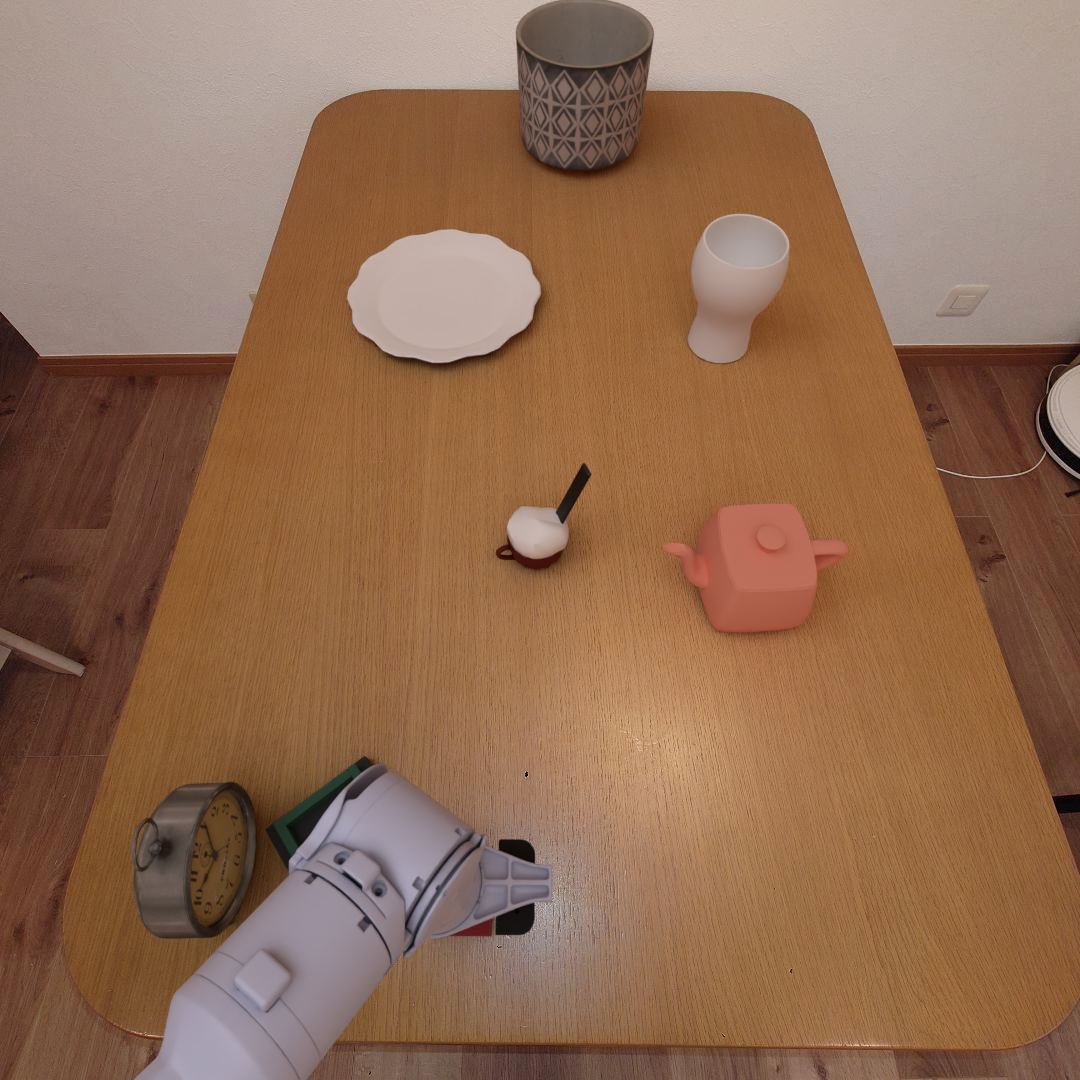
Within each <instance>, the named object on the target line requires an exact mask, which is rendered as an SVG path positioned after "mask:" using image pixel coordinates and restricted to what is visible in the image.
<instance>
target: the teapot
mask: <svg viewBox="0 0 1080 1080" xmlns="http://www.w3.org/2000/svg"><path fill="white" fill-rule="evenodd" d="M696 539H697V540H696V542H695V551H694V550H693V548H692V547H691V546H689V545H688V544H686V543H682V542H669V543H665V544H664V545H663V546H662V549H663V551H664V552H665V553H667V554H669V555H673V556H676V557H678V558H679V559H680V564H681V565H680V566H681V571H682V573H683V575H684V578H685V579H686V581H688V582H689V584H691V585H693V586H695V587H697V588H698V590H699V593H700V597H701V600H702V603H703V607H704V610H705V612H706V616H707V618H708V620H709V622H710V624H711V626H712V627H713V628H714V629H715V630H716V631H717V632H720V633H760V632H773V631H783V630H788V629H789V630H790V629H793V628H796V627H799V626H801V625H803V624H804V623H805V622H806V620H807V619H808V616H809V615H810V613H811V611H812V608H813V606H814V603H815V599H816V594H817V589H818V579H819V578H818V572H819V571H822V570H825V569H827V568H829V567H831V566H834V565H836V564H838V563H839V562H841V561H842V560H843V559H845V558H846V557H847V556H848V555H849V553H850V548H849V547H850V546H849V544H848V543H846V542H845V541H843V540H840V539H827V538H826V539H811V538H810V536H809V532H808V530H807V527H806V524H805V522H804V519H803V517H802V515H801V513H800V511H799V509H798V508H797V506H795V505H794V504H793V503H784V502H783V503H781V502H779V503H777V502H776V503H775V502H774V503H751V504H750V503H749V504H737V505H728V506H727V505H725V506H722V507H720V508H719V509H717V510H716V512H714V514H712V516H710V517H709V519H708V520H707V521H706V522H705V524H703V526H702V528H701V530H700V531H699V533H698V535H697V538H696Z"/></svg>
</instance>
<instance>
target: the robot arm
mask: <svg viewBox="0 0 1080 1080" xmlns="http://www.w3.org/2000/svg"><path fill="white" fill-rule="evenodd" d="M487 842H488V834H487V833H484V834H479V833H478V832H476V829H475V828H474V827H472V825H470V824H469V823H467V822H466V821H465V820H463V819H462V818H461V817H459V816H458V815H456V814H455V813H453V812H452V811H451V810H450V809H448V808H447V807H446V806H444V805H443V804H442V803H441V802H439V801H438V800H436V799H435V798H433V796H431V795H430V794H428V793H427V792H426V791H424V790H423V789H422V788H420V787H419V786H418V785H416V784H415V783H414V782H412V781H411V780H410V779H408V778H407V777H406V776H404V775H403V774H402V773H400V772H399V771H398V770H391V771H389V769H388V766H387V764H386V763H383V762H380V763H375V764H373V765H372V766H371V767H369V768H368V769H366V770H365V771H364V772H362V773H361V774H360V775H359V776H357V777H356V778H355V779H354V780H353V781H352V782H351V783H350V784H349V785H348V786H346V787H345V788H344V789H343V790H342V792H341V793H340V794H339V795H338V796H337V797H336V799H335V800H334V801H333V802H332V804H331V805H330V806H329V807H328V809H327V810H326V811H325V813H324V814H323V816H322V817H321V819H320V820H319V822H318V823H317V825H316V826H315V828H314V829H313V831H312V832H311V834H310V835H309V837H308V838H307V839H306V840H305V842H304V843H303V844H302V845H301V846H300V847H299V848H298V849H297V850H296V853H295V854H294V855H293V856H292V858H291V859H290V860H289V871H288V875H287V876H286V877H285V878H284V879H283V881H281V883H280V884H279V885H277V887H276V888H275V889H274V890H273V891H272V892H271V893H270V894H269V895H268V896H267V897H266V898H265V899H264V900H263V901H262V902H261V904H259V905H258V907H256V908H255V909H254V911H253V912H252V913H250V915H248V916H247V918H246V919H245V920H244V921H243V922H242V923H241V924H240V925H239V926H238V927H237V928H236V929H235V930H234V931H233V932H232V933H231V934H230V935H229V936H228V937H227V938H226V939H225V940H224V941H223V942H222V943H221V944H220V945H219V947H218V948H216V949H215V951H214V952H213V953H212V954H211V955H210V956H209V957H208V958H207V959H206V960H205V961H204V962H203V963H202V964H201V965H200V966H199V967H198V968H197V969H196V970H195V971H194V972H193V974H191V976H190V977H189V978H188V979H187V980H186V981H185V982H184V983H183V984H182V985H181V986H180V987H179V988H177V990H176V991H175V992H174V993H173V996H172V997H171V1001H170V1004H169V1008H168V1013H167V1018H166V1023H165V1028H164V1033H163V1038H162V1043H161V1046H160V1049H159V1051H158V1054H157V1055H156V1057H155V1058H154V1059H153V1060H152V1061H151V1062H150V1063H149V1064H148V1065H147V1066H146V1067H145V1068H144V1069H142V1071H141V1072H140V1073H139V1074H137V1075H136V1077H134V1078H133V1080H308V1079H309V1078H310V1076H311V1075H312V1074H313V1072H314V1071H315V1069H317V1067H318V1066H319V1065H320V1063H321V1061H323V1059H324V1058H325V1056H326V1055H327V1053H328V1052H329V1051H330V1050H331V1049H332V1047H333V1046H334V1044H335V1043H336V1042H337V1040H338V1039H339V1038H340V1036H341V1035H342V1034H343V1033H344V1031H345V1030H346V1029H347V1027H348V1026H349V1024H350V1023H351V1021H352V1020H353V1019H354V1017H355V1016H356V1015H357V1014H358V1013H359V1011H360V1009H361V1008H362V1007H363V1006H364V1005H365V1003H366V1002H367V1001H368V999H369V998H370V996H371V995H372V994H373V992H374V991H375V989H377V987H378V986H379V984H380V983H381V982H382V981H383V980H384V978H385V977H386V975H387V974H388V972H389V971H390V970H391V969H392V967H393V966H394V965H395V963H396V962H397V961H398V960H399V958H400V957H401V955H402V958H403V959H404V960H406V959H408V958H410V957H411V956H413V954H415V952H417V951H418V950H419V949H420V948H421V947H422V946H423V945H424V944H425V943H426V942H427V941H428V940H430V939H431V940H432V939H433V940H434V939H441V938H446V937H450V936H449V935H452V934H454V933H457V932H459V931H462V930H464V929H467V928H469V927H472V926H474V925H477V924H479V923H482V922H484V921H487V920H489V919H492V920H493V919H495V929H494V935H495V936H523V935H526V934H527V933H529V932H530V931H531V930H532V928H533V926H534V923H535V920H536V903H539V904H541V903H542V904H545V903H547V904H551V903H552V902H553V865H552V864H541V863H536V852H535V849H534V846H533V845H532V844H531V843H530V842H529V841H528V840H526V839H522V838H500V839H498V848H494V847H492V846H489V845H487Z"/></svg>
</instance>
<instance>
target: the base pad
mask: <svg viewBox="0 0 1080 1080" xmlns="http://www.w3.org/2000/svg"><path fill="white" fill-rule="evenodd" d="M371 766H373V765H372V763H371V761H370V760H369V758H368V757H367V756H366V755H364V756H362V757H361V758H359V759H358V760H357V761H355V762H354V763H352V764H351V765H350V766H349V767H347V768H346V769H345V770H343V771H342V772H340V773H339V774H338V775H337V776H335V777H334V778H332V779H331V780H329V782H327V783H326V784H324V785H323V786H322V787H320V788H319V789H317V790H316V791H315V792H314V793H312V794H311V795H309V796H308V797H307V798H305V799H304V800H302V801H301V802H300V803H298V805H296V806H295V807H294V808H292V809H291V810H289V811H288V812H287V813H285V814H284V815H283V816H281V817H280V818H279V819H277V820H276V821H274V822H273V823H272V824H270V825H269V826H268V827H266V828H265V830H264V831H265V832H266V834H267V836H268V837H269V840H270V841H271V843H272V845H273V847H274V849H275V850H276V852H277V854H278V855H279V857H280V859H281V860H282V862H283V864H284V866H285V868H286V869H287V871H288V872H289V860H290V859H291V858H292V856H293V855H294V854H295V853H296V850H297V849H298V848H299V847H300V846H301V845H302V844H303V843H304V842H305V840H306V839H307V838H308V837H309V835H310V834H311V832H312V831H313V829H314V828H315V826H316V825H317V823H318V822H319V820H320V819H321V817H322V816H323V814H324V813H325V811H326V810H327V809H328V807H329V806H330V805H331V804H332V802H333V801H334V800H335V799H336V797H337V796H338V795H339V794H340V793H341V792H342V790H343V789H344V788H345V787H346V786H348V785H349V784H350V783H351V782H352V781H353V780H354V779H355V778H356V777H357V776H359V775H360V774H361V773H362V772H364V771H365V770H366V769H368V768H369V767H371Z"/></svg>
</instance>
